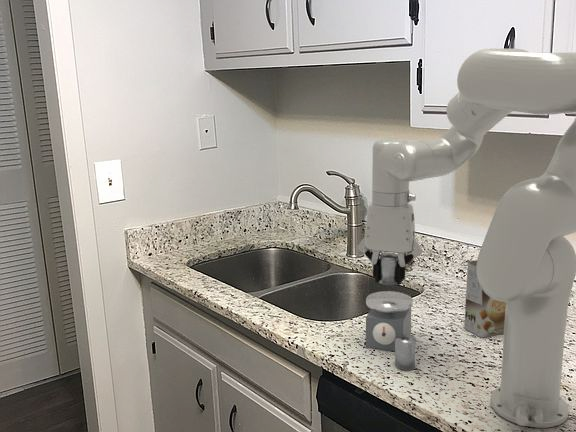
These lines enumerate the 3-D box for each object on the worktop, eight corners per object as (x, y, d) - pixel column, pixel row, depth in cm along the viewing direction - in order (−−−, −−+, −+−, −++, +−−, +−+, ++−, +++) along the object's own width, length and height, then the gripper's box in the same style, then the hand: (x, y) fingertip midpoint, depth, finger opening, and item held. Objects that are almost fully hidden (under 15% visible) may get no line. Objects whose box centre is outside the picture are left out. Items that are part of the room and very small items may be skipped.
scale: (402, 353, 126) (402, 322, 124) (364, 348, 129) (364, 318, 127) (410, 333, 136) (411, 304, 134) (375, 328, 139) (376, 300, 137)
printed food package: (481, 339, 132) (485, 269, 128) (463, 328, 138) (466, 261, 134) (515, 331, 135) (519, 263, 131) (495, 321, 141) (499, 255, 137)
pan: (408, 321, 125) (408, 310, 124) (361, 316, 128) (361, 305, 128) (415, 304, 134) (416, 293, 133) (371, 299, 137) (371, 289, 137)
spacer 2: (412, 372, 118) (413, 344, 117) (392, 369, 120) (392, 341, 118) (417, 363, 122) (417, 336, 120) (397, 360, 123) (397, 333, 122)
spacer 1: (399, 279, 131) (400, 253, 129) (396, 286, 127) (396, 259, 126) (381, 278, 132) (382, 252, 131) (377, 284, 129) (378, 257, 127)
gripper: (433, 197, 126) (430, 279, 130) (355, 193, 132) (355, 272, 136) (428, 204, 119) (425, 291, 123) (346, 200, 125) (346, 283, 129)
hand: (388, 280), depth 130 cm, fingers closed on spacer 1, 4 cm apart
